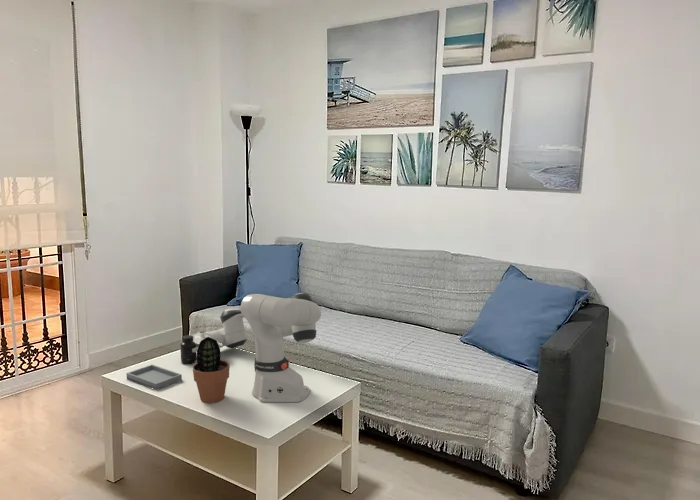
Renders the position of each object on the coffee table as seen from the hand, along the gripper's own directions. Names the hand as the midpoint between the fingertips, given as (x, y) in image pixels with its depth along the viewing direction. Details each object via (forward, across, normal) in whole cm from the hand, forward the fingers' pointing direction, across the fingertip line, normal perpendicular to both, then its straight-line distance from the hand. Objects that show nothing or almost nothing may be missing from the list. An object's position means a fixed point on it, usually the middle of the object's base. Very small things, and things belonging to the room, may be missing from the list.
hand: (186, 348), depth 244 cm
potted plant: (+18, -40, -7) cm, 44 cm away
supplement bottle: (-1, 0, -7) cm, 7 cm away
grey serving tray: (+21, -6, -7) cm, 22 cm away
